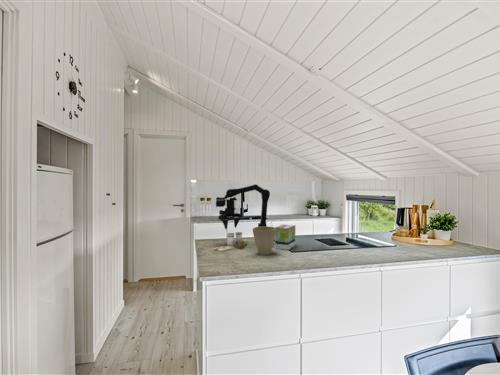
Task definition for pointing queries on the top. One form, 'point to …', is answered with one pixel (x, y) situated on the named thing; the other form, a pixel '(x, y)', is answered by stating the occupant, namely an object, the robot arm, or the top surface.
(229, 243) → the jar
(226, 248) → the board
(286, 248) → the tea box
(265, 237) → the plant pot
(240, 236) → the jar
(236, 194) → the robot arm
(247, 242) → the lime
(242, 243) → the token
